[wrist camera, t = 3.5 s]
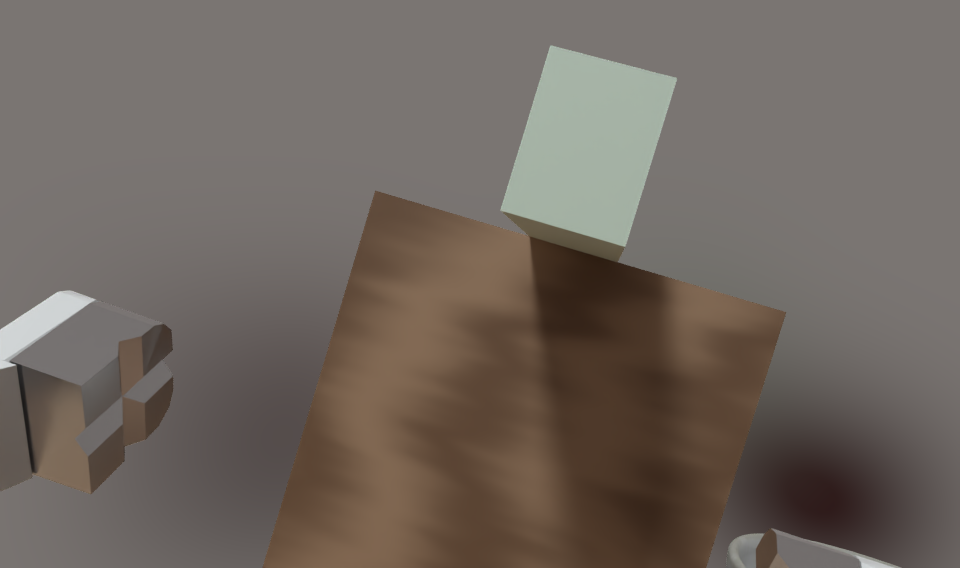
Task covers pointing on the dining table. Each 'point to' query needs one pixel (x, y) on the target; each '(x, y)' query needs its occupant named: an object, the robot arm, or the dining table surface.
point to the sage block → (587, 152)
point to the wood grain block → (518, 407)
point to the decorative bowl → (744, 552)
